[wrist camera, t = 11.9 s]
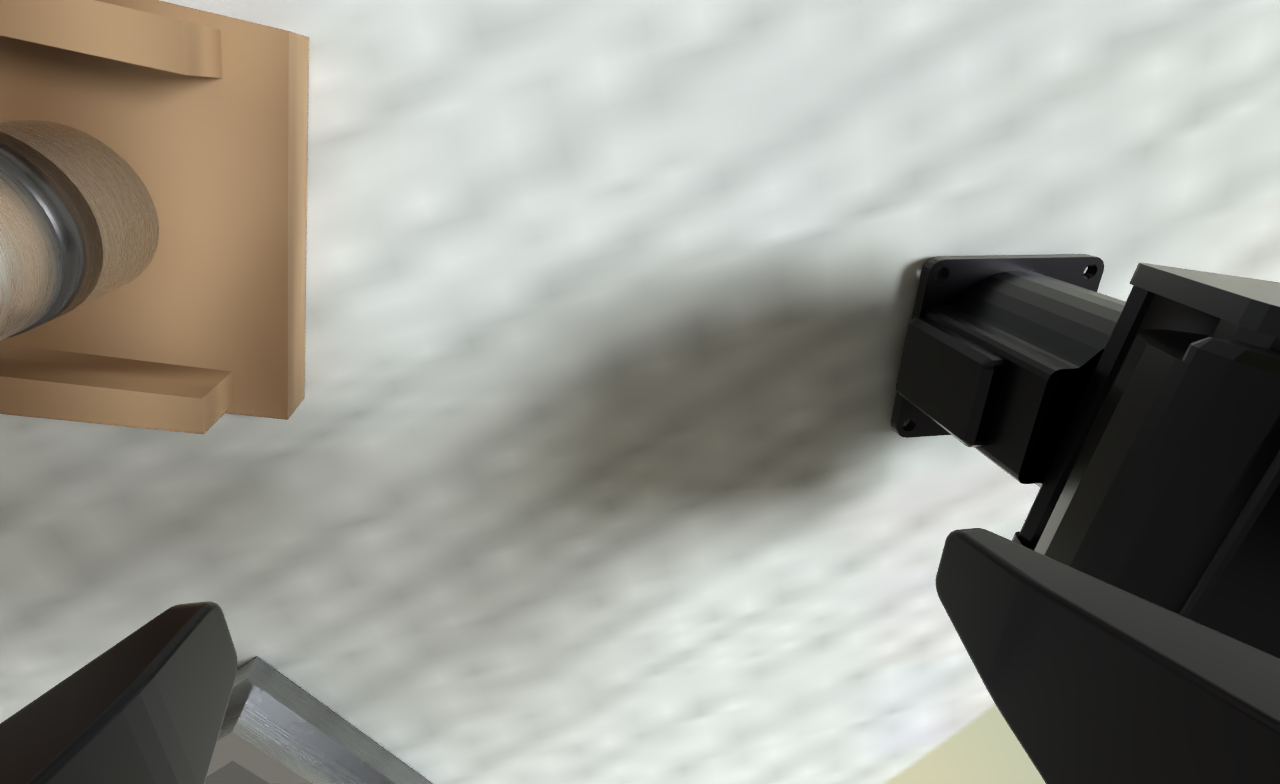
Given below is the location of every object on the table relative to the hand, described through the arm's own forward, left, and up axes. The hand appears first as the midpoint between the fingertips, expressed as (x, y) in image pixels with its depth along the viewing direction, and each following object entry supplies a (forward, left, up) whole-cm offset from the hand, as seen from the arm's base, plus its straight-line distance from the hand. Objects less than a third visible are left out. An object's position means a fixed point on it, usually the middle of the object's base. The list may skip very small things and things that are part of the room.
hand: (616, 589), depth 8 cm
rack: (+12, -3, -13) cm, 18 cm away
